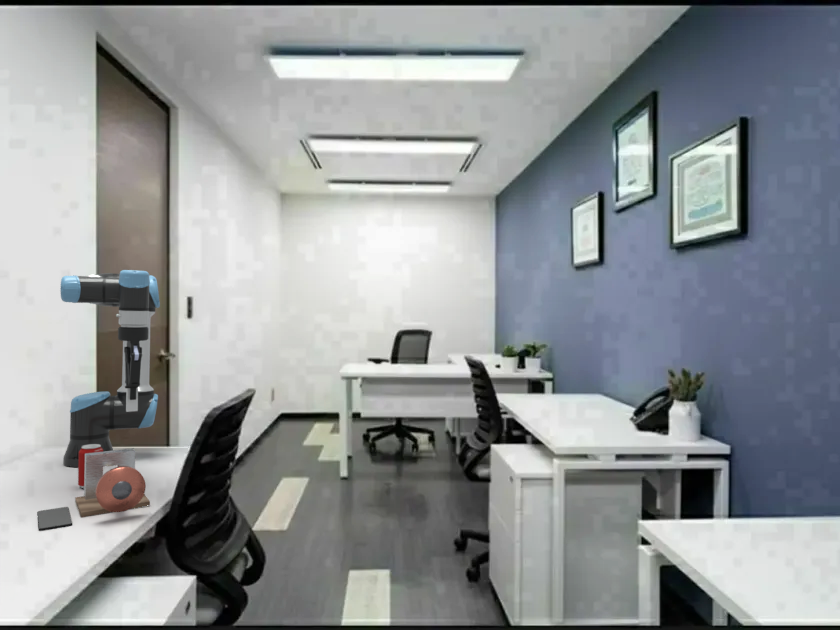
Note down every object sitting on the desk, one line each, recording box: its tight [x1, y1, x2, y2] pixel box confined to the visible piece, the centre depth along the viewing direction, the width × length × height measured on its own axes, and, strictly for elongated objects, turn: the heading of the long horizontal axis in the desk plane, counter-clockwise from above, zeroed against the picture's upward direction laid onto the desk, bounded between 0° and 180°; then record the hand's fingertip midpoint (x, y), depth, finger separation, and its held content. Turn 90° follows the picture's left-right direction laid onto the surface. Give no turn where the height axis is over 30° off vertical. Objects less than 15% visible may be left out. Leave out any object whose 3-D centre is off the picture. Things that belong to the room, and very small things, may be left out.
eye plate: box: [83, 447, 136, 500], centre depth 160 cm, size 3×12×13 cm, turn 126°
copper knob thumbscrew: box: [96, 466, 147, 513], centre depth 150 cm, size 16×11×11 cm
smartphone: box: [36, 506, 73, 532], centre depth 144 cm, size 7×1×15 cm
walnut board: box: [74, 493, 151, 518], centre depth 156 cm, size 14×16×1 cm
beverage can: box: [77, 444, 103, 490], centre depth 170 cm, size 6×6×12 cm
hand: (131, 410), depth 160 cm, fingers closed
